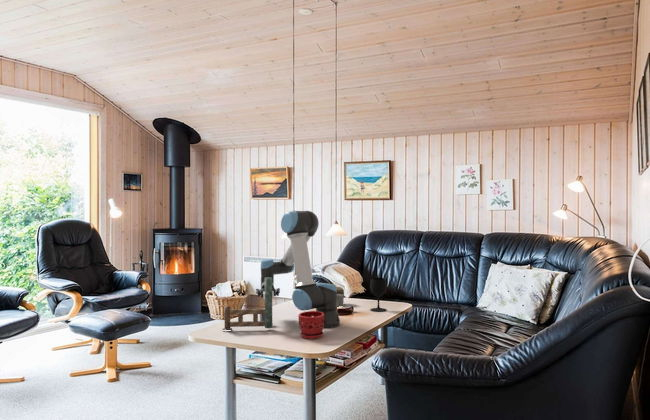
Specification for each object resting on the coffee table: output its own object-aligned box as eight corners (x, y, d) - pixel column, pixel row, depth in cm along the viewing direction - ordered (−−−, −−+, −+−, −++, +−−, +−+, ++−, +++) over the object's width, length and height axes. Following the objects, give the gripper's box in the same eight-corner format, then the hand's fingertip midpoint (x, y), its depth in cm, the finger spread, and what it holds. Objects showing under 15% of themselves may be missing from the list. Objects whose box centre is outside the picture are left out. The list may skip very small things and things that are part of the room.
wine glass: (389, 309, 327) (389, 278, 327) (382, 312, 319) (382, 280, 318) (374, 307, 333) (374, 277, 333) (367, 310, 324) (367, 279, 324)
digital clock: (343, 309, 329) (343, 292, 329) (343, 312, 320) (343, 295, 320) (318, 309, 330) (318, 292, 330) (317, 312, 321) (317, 295, 321)
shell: (344, 306, 339) (344, 288, 339) (327, 306, 339) (327, 288, 339) (344, 303, 350) (343, 285, 349) (327, 303, 350) (327, 285, 350)
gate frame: (269, 324, 289) (269, 310, 289) (225, 332, 273) (225, 317, 273) (265, 323, 293) (264, 309, 293) (221, 330, 277) (220, 315, 277)
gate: (224, 328, 274) (223, 279, 274) (225, 327, 278) (224, 277, 278) (272, 328, 275) (271, 278, 275) (272, 326, 279) (272, 277, 279)
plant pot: (299, 333, 269) (299, 310, 269) (324, 333, 269) (324, 310, 268) (297, 340, 256) (297, 316, 256) (324, 340, 256) (323, 316, 255)
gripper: (282, 294, 297) (284, 302, 273) (252, 295, 294) (252, 303, 271) (282, 281, 296) (284, 288, 273) (252, 282, 294) (252, 289, 271)
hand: (268, 296), depth 272 cm, fingers closed on gate, 4 cm apart
